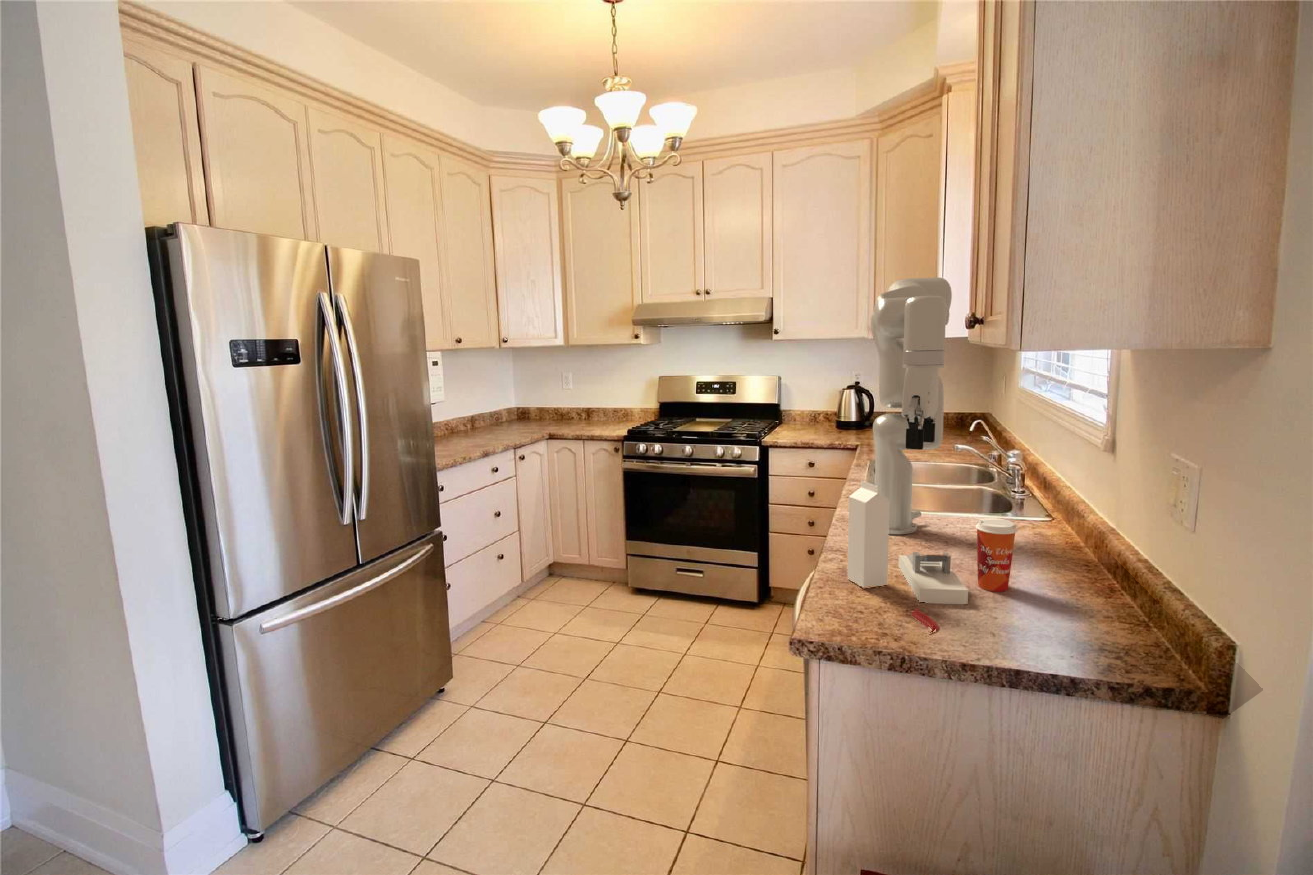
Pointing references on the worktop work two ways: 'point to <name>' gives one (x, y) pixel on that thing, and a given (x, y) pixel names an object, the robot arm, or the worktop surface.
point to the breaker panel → (933, 580)
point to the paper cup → (994, 553)
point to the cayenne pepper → (925, 620)
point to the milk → (868, 536)
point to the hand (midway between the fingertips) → (920, 445)
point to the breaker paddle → (933, 558)
